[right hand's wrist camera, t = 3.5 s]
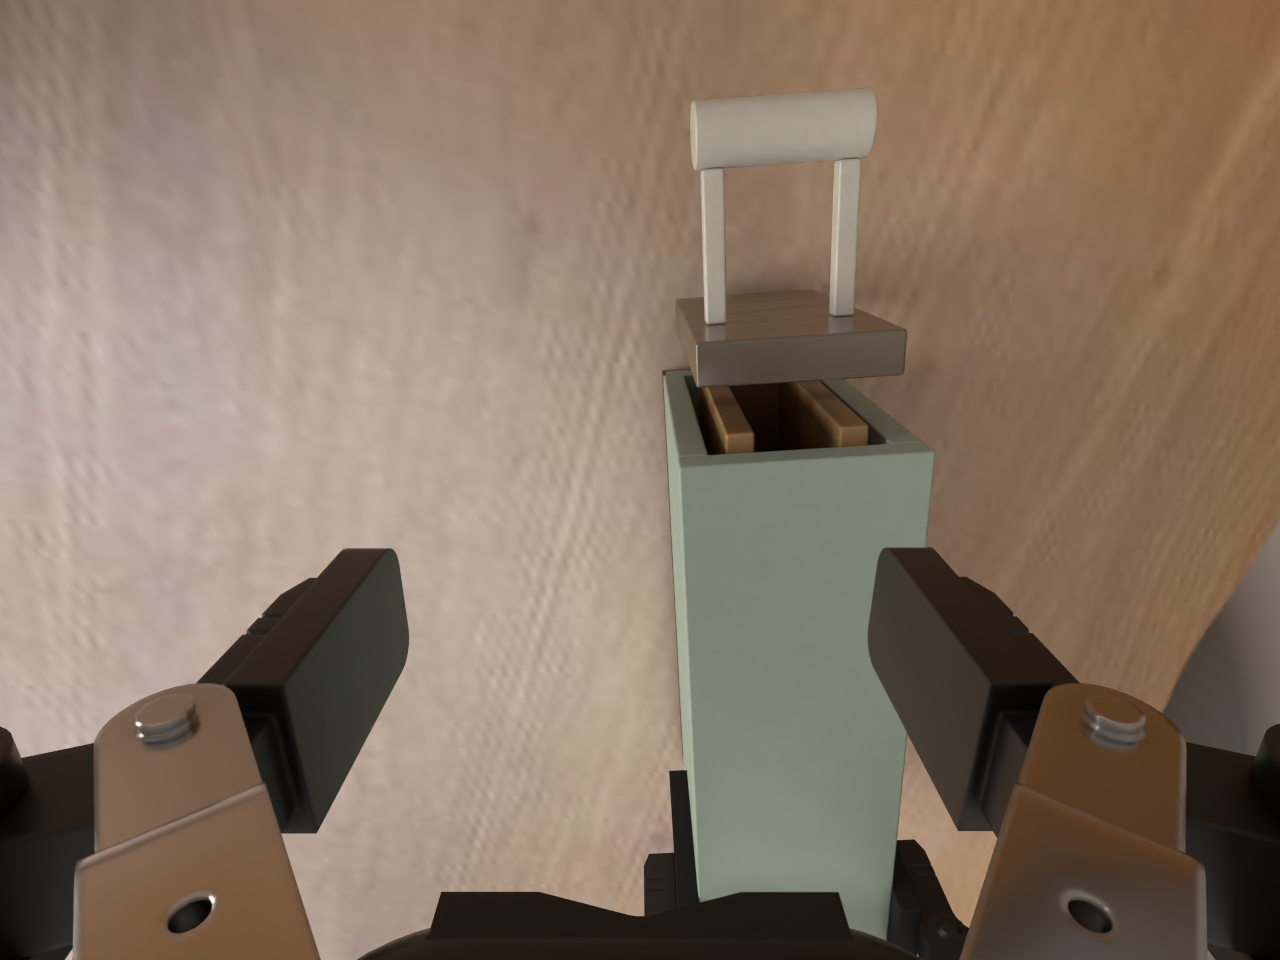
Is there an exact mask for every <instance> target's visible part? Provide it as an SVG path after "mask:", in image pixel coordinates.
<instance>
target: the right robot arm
mask: <svg viewBox="0 0 1280 960" xmlns="http://www.w3.org/2000/svg"><path fill="white" fill-rule="evenodd" d="M408 647H409V630H408V622H407V615H406V608H405V601H404V594H403V587H402V580H401V574H400V567H399V561H398V557H397V555H396V553H395V551H394V550H393V549H391V548H348V549H344V550H342V551H341V552H340V553H339V554H338V555H337V556H336V557H335V559H334V560H333V561H332V562H331V563H330V564H329V565H328V566H327V567H326V569H325V570H324V571H323V572H322V573H321V574H320V575H319V576H318V577H317V578H309V579H307V580H305V581H304V582H302V583H300V584H298V585H297V586H295V587H293V588H291V589H290V590H288V591H286V592H285V593H283V594H281V595H280V596H279V597H278V598H277V599H276V600H275V601H274V602H273V603H272V604H271V605H270V606H269V608H268V609H267V610H266V611H265V612H264V613H263V614H262V618H258V619H257V620H256V621H255V622H254V623H253V624H252V625H251V626H250V627H249V628H248V630H247V633H246V635H242V636H241V637H240V638H239V639H238V640H237V641H236V642H235V643H234V644H233V645H232V646H231V647H230V648H229V649H228V650H227V651H226V653H225V654H224V655H223V656H222V657H221V658H220V659H219V660H218V661H217V662H216V663H215V664H214V665H213V666H212V667H211V668H210V669H209V670H208V671H207V672H206V673H205V674H204V676H203V677H202V678H201V679H200V680H199V681H198V682H197V683H196V684H188V685H183V686H178V687H174V688H170V689H167V690H163V691H161V692H158V693H155V694H152V695H150V696H148V697H146V698H143V699H141V700H139V701H137V702H136V703H134V704H132V705H130V706H128V707H127V708H125V709H124V710H122V711H121V712H119V713H118V714H117V715H116V716H114V717H113V718H112V719H111V720H110V721H109V722H108V723H107V724H106V725H105V726H104V727H103V728H102V729H101V731H100V732H99V733H98V735H97V737H96V739H95V742H94V743H92V744H88V745H83V746H78V747H73V748H68V749H63V750H58V751H54V752H49V753H44V754H39V755H34V756H29V757H25V758H21V756H20V754H19V752H18V749H17V747H16V744H15V742H14V740H13V737H12V735H11V733H10V732H9V731H8V730H7V729H5V728H2V727H0V960H65V958H66V957H67V956H68V954H69V953H70V951H71V950H72V949H73V960H321V959H320V956H319V953H318V950H317V947H316V944H315V940H314V937H313V934H312V931H311V928H310V924H309V921H308V918H307V915H306V912H305V908H304V905H303V902H302V899H301V896H300V893H299V889H298V886H297V883H296V880H295V877H294V873H293V870H292V867H291V864H290V861H289V858H288V854H287V851H286V848H285V845H284V842H283V838H282V835H281V833H317V832H318V830H319V828H320V826H321V824H322V822H323V820H324V818H325V817H326V815H327V813H328V811H329V809H330V807H331V805H332V803H333V801H334V799H335V798H336V796H337V794H338V792H339V790H340V788H341V786H342V784H343V782H344V780H345V779H346V777H347V775H348V773H349V771H350V769H351V767H352V765H353V763H354V761H355V760H356V758H357V756H358V754H359V752H360V750H361V748H362V746H363V744H364V742H365V741H366V739H367V737H368V735H369V733H370V731H371V729H372V727H373V725H374V723H375V722H376V720H377V718H378V716H379V714H380V712H381V710H382V708H383V706H384V704H385V703H386V701H387V699H388V697H389V695H390V693H391V691H392V689H393V687H394V685H395V684H396V682H397V680H398V678H399V676H400V674H401V672H402V670H403V668H404V666H405V663H406V659H407V654H408ZM868 650H869V655H870V660H871V663H872V666H873V668H874V670H875V672H876V674H877V676H878V678H879V680H880V682H881V683H882V685H883V687H884V689H885V691H886V693H887V695H888V697H889V699H890V701H891V703H892V705H893V707H894V708H895V710H896V712H897V714H898V716H899V718H900V720H901V722H902V724H903V726H904V728H905V730H906V732H907V733H908V735H909V737H910V739H911V741H912V743H913V745H914V747H915V749H916V751H917V753H918V755H919V757H920V758H921V760H922V762H923V764H924V766H925V768H926V770H927V772H928V774H929V776H930V778H931V780H932V782H933V783H934V785H935V787H936V789H937V791H938V793H939V795H940V797H941V799H942V801H943V803H944V805H945V807H946V808H947V810H948V812H949V814H950V816H951V818H952V820H953V822H954V824H955V826H956V828H957V830H958V831H993V832H994V833H995V835H996V837H997V842H996V845H995V848H994V851H993V854H992V858H991V861H990V864H989V867H988V870H987V873H986V877H985V880H984V883H983V886H982V889H981V893H980V896H979V899H978V902H977V905H976V908H975V912H974V915H973V918H972V921H971V924H970V928H969V931H968V934H967V937H966V940H965V944H964V947H963V950H962V953H961V956H960V959H959V960H1207V949H1208V950H1209V951H1210V953H1211V954H1212V956H1213V957H1214V958H1215V960H1280V724H1277V725H1274V726H1272V727H1270V728H1269V729H1268V730H1267V731H1266V733H1265V736H1264V738H1263V740H1262V743H1261V745H1260V748H1259V750H1258V752H1257V755H1256V756H1251V755H1246V754H1241V753H1236V752H1231V751H1226V750H1222V749H1217V748H1212V747H1207V746H1202V745H1197V744H1192V743H1187V742H1185V739H1184V737H1183V735H1182V733H1181V732H1180V731H1179V729H1178V728H1177V727H1176V726H1175V725H1174V724H1173V723H1172V722H1171V721H1170V720H1169V719H1168V718H1167V717H1166V716H1164V715H1163V714H1162V713H1161V712H1159V711H1158V710H1156V709H1155V708H1153V707H1152V706H1150V705H1148V704H1146V703H1144V702H1143V701H1141V700H1139V699H1137V698H1134V697H1132V696H1130V695H1128V694H1125V693H1122V692H1119V691H1117V690H1113V689H1110V688H1106V687H1102V686H1097V685H1092V684H1084V683H1079V682H1078V681H1077V680H1076V679H1075V678H1074V676H1073V675H1072V674H1071V673H1070V672H1069V671H1068V670H1067V669H1066V668H1065V667H1064V666H1063V665H1062V664H1061V663H1060V662H1059V661H1058V660H1057V659H1056V658H1055V656H1054V655H1053V654H1052V653H1051V652H1050V651H1049V650H1048V649H1047V648H1046V647H1045V646H1044V645H1043V644H1042V643H1041V642H1040V641H1039V640H1038V639H1037V637H1036V636H1035V635H1034V634H1033V633H1029V632H1028V628H1027V627H1026V626H1025V625H1024V624H1023V623H1022V622H1021V621H1020V620H1019V618H1018V617H1013V612H1012V611H1011V610H1010V609H1009V608H1008V607H1007V606H1006V605H1005V604H1004V603H1003V602H1002V601H1001V599H1000V598H999V597H998V596H997V595H996V594H995V593H993V592H991V591H990V590H988V589H986V588H985V587H983V586H981V585H979V584H978V583H976V582H974V581H973V580H971V579H969V578H967V577H958V576H957V574H956V573H955V572H954V571H953V570H952V569H951V568H950V567H949V565H948V564H947V563H946V562H945V561H944V560H943V559H942V558H941V556H940V555H939V554H938V553H937V552H936V551H935V550H934V549H933V548H929V547H886V548H883V549H882V551H881V552H880V555H879V557H878V562H877V568H876V575H875V582H874V589H873V596H872V603H871V610H870V618H869V625H868ZM357 960H923V959H921V958H920V957H918V956H916V955H915V954H913V953H911V952H909V951H907V950H905V949H903V948H901V947H899V946H897V945H895V944H893V943H891V942H889V941H886V940H884V939H881V938H878V937H876V936H873V935H870V934H868V933H865V932H862V931H858V930H855V929H851V928H849V925H848V922H847V919H846V915H845V912H844V908H843V905H842V902H841V898H840V895H839V892H739V893H735V894H731V895H727V896H724V897H720V898H716V899H712V900H708V901H704V902H700V903H696V904H693V905H689V906H685V907H681V908H677V909H673V910H669V911H665V912H661V913H658V914H654V915H649V916H631V915H626V914H622V913H619V912H615V911H611V910H607V909H603V908H599V907H595V906H591V905H587V904H584V903H580V902H576V901H572V900H568V899H564V898H560V897H556V896H553V895H549V894H545V893H541V892H441V895H440V898H439V902H438V905H437V908H436V912H435V915H434V919H433V922H432V925H431V928H429V929H425V930H422V931H418V932H415V933H412V934H410V935H407V936H404V937H402V938H399V939H396V940H394V941H391V942H389V943H387V944H385V945H383V946H381V947H379V948H377V949H375V950H373V951H371V952H369V953H367V954H365V955H364V956H362V957H360V958H359V959H357Z"/></svg>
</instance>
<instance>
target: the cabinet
mask: <svg viewBox="0 0 1280 960" xmlns="http://www.w3.org/2000/svg"><path fill="white" fill-rule="evenodd" d="M662 375H663V394H664V412H665V431H666V450H667V469H668V488H669V507H670V526H671V545H672V564H673V583H674V601H675V620H676V639H677V658H678V677H679V696H680V715H681V734H682V753H683V765H684V770H687V776H688V787H689V798H690V809H691V821H692V832H693V843H694V854H695V865H696V874H697V887H698V897H699V903H700V902H704V901H708V900H712V899H716V898H720V897H724V896H727V895H731V894H735V893H739V892H839V895H840V898H841V902H842V905H843V908H844V912H845V915H846V919H847V922H848V925H849V928H851V929H855V930H858V931H862V932H865V933H868V934H870V935H873V936H876V937H878V938H881V939H884V940H886V941H887V933H888V923H889V913H890V903H891V893H892V883H893V873H894V863H895V853H896V843H897V833H898V823H899V813H900V803H901V793H902V783H903V773H904V763H905V753H906V743H907V732H906V730H905V728H904V726H903V724H902V722H901V720H900V718H899V716H898V714H897V712H896V710H895V708H894V707H893V705H892V703H891V701H890V699H889V697H888V695H887V693H886V691H885V689H884V687H883V685H882V683H881V682H880V680H879V678H878V676H877V674H876V672H875V670H874V668H873V666H872V663H871V660H870V655H869V650H868V625H869V618H870V610H871V603H872V596H873V589H874V582H875V575H876V568H877V562H878V557H879V555H880V552H881V551H882V549H883V548H886V547H926V542H927V532H928V522H929V512H930V502H931V492H932V482H933V472H934V462H935V451H934V450H932V449H931V448H930V447H928V446H927V445H926V444H925V443H923V442H922V441H921V440H920V439H919V438H917V437H916V436H915V435H913V434H912V433H911V432H910V431H908V430H907V429H906V428H905V427H903V426H902V425H901V424H900V423H898V422H897V421H896V420H895V419H893V418H892V417H891V416H889V415H888V414H887V413H886V412H884V411H883V410H882V409H881V408H879V407H878V406H877V405H876V404H874V403H873V402H872V401H871V400H869V399H868V398H867V397H865V396H864V395H863V394H862V393H860V392H859V391H858V390H857V389H855V388H854V387H853V386H852V385H850V384H849V383H848V382H847V381H845V380H844V379H832V380H818V381H820V382H821V383H822V384H823V385H824V386H825V387H826V388H827V389H828V390H829V391H831V392H832V393H833V394H834V395H835V396H836V397H837V398H838V399H839V400H840V401H842V402H843V403H844V404H845V405H846V406H847V407H848V408H849V409H850V410H851V411H853V412H854V413H855V414H856V415H857V416H858V417H859V418H860V419H861V420H862V421H864V422H865V423H866V424H867V425H868V427H869V429H868V445H866V446H850V447H834V448H818V449H802V450H786V451H770V452H754V453H738V454H722V455H708V454H707V451H706V447H705V444H704V441H703V437H702V434H701V431H700V427H699V399H698V387H697V386H696V383H695V380H694V378H693V375H692V372H691V370H678V371H662Z"/></svg>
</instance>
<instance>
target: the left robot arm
mask: <svg viewBox="0 0 1280 960" xmlns="http://www.w3.org/2000/svg"><path fill="white" fill-rule="evenodd" d="M669 775H670V791H671V808H672V824H673V841H674V853H659V854H649V855H648V858H647V860H646V862H645V865H644V909H645V916H649V915H654V914H658V913H661V912H665V911H669V910H673V909H677V908H681V907H685V906H689V905H693V904H696V903H699V897H698V887H697V874H696V865H695V854H694V843H693V832H692V821H691V809H690V798H689V787H688V776H687V770H680V771H669ZM968 931H969V928H968V927H966V926H965V925H963V924H962V922H961V921H960V920H958V919H957V918H956V917H955V915H954V913H953V912H952V909H951V907H950V905H949V903H948V901H947V898H946V896H945V894H944V892H943V890H942V887H941V885H940V883H939V881H938V879H937V876H936V875H935V872H934V870H933V868H932V866H931V863H930V861H929V859H928V856H927V854H926V852H925V850H924V849H923V848H922V847H921V846H920V845H919V844H918V843H917V842H916V841H915V840H897V843H896V853H895V863H894V873H893V883H892V893H891V903H890V913H889V923H888V933H887V941H889V942H891V943H893V944H895V945H897V946H899V947H901V948H903V949H905V950H907V951H909V952H911V953H913V954H915V955H916V956H917V953H918V955H919V957H920V958H921V959H923V960H959V959H960V956H961V953H962V950H963V947H964V944H965V940H966V937H967V934H968Z"/></svg>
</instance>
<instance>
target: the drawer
mask: <svg viewBox="0 0 1280 960" xmlns="http://www.w3.org/2000/svg"><path fill="white" fill-rule="evenodd" d="M877 119H878V109H877V100H876V95H875V93H874V91H873V90H872V89H871V88H858V89H844V90H830V91H816V92H802V93H788V94H775V95H761V96H747V97H733V98H719V99H705V100H695V101H693V102H692V105H691V117H690V134H691V155H692V164H693V167H694V169H695V170H702V171H701V207H702V242H703V276H704V297H702V298H687V299H677V300H675V313H676V329H677V332H678V335H679V338H680V340H681V343H682V346H683V349H684V352H685V355H686V358H687V360H688V363H689V366H690V369H691V372H692V375H693V378H694V380H695V383H696V386H697V387H698V399H699V427H700V431H701V434H702V437H703V441H704V444H705V447H706V451H707V454H708V455H722V454H738V453H754V452H770V451H786V450H802V449H818V448H834V447H850V446H866V445H868V429H869V427H868V425H867V424H866V423H865V422H864V421H862V420H861V419H860V418H859V417H858V416H857V415H856V414H855V413H854V412H853V411H851V410H850V409H849V408H848V407H847V406H846V405H845V404H844V403H843V402H842V401H840V400H839V399H838V398H837V397H836V396H835V395H834V394H833V393H832V392H831V391H829V390H828V389H827V388H826V387H825V386H824V385H823V384H822V383H821V382H820V381H818V380H832V379H848V378H864V377H879V376H895V375H902V374H903V373H904V366H905V354H906V341H907V330H906V329H904V328H901V327H899V326H897V325H894V324H892V323H889V322H887V321H885V320H882V319H880V318H878V317H875V316H873V315H871V314H868V313H866V312H864V311H861V310H859V309H856V308H854V300H855V280H856V259H857V239H858V219H859V199H860V178H861V159H862V158H865V157H867V156H868V155H869V153H870V152H871V149H872V147H873V144H874V140H875V136H876V130H877ZM834 160H838V161H836V162H835V164H834V191H833V218H832V246H831V273H830V297H828V296H826V295H823V294H821V293H819V292H816V291H814V290H807V291H792V292H777V293H762V294H747V295H732V296H726V250H725V193H724V169H723V168H734V167H749V166H763V165H777V164H791V163H806V162H820V161H834Z"/></svg>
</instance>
